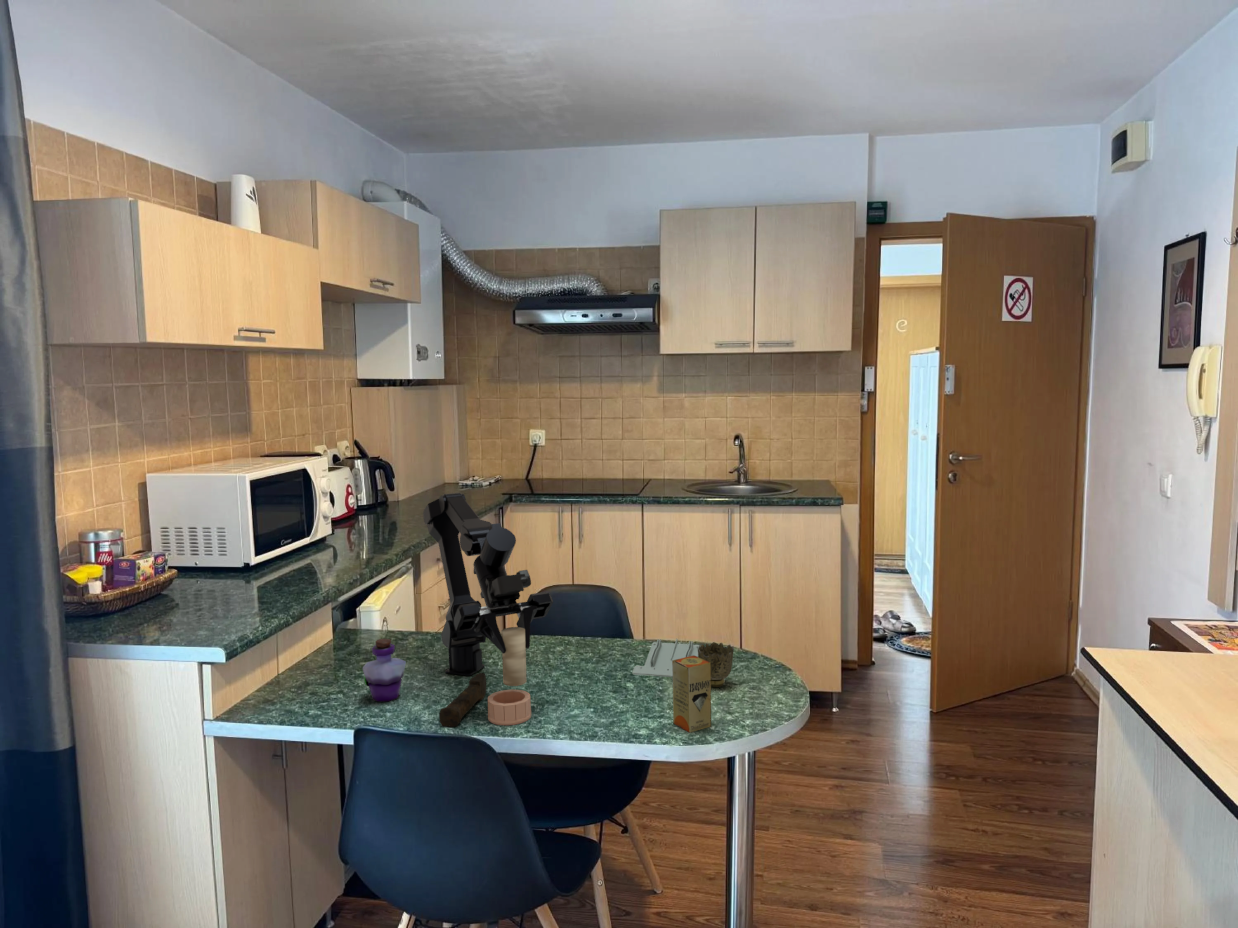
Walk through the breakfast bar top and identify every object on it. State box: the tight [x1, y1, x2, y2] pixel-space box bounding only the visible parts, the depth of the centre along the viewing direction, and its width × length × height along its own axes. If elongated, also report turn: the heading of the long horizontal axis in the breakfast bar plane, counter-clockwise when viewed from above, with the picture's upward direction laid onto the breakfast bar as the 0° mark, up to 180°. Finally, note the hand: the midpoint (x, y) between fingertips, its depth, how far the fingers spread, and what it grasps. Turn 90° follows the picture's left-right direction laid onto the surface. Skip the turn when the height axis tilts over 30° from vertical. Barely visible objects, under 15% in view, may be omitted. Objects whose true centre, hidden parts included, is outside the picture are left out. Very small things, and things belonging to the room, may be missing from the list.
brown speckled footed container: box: [698, 641, 735, 688], centre depth 175 cm, size 8×7×8 cm
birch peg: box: [501, 626, 527, 687], centre depth 160 cm, size 4×4×10 cm
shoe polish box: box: [672, 655, 712, 734], centre depth 155 cm, size 5×5×12 cm
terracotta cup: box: [487, 688, 532, 726], centre depth 161 cm, size 8×8×4 cm
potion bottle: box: [362, 638, 407, 703], centre depth 172 cm, size 9×9×12 cm
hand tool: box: [438, 672, 487, 728], centre depth 166 cm, size 19×4×5 cm, turn 166°
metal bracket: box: [631, 638, 702, 678], centre depth 187 cm, size 14×6×15 cm
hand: (516, 649), depth 159 cm, fingers closed on birch peg, 4 cm apart
